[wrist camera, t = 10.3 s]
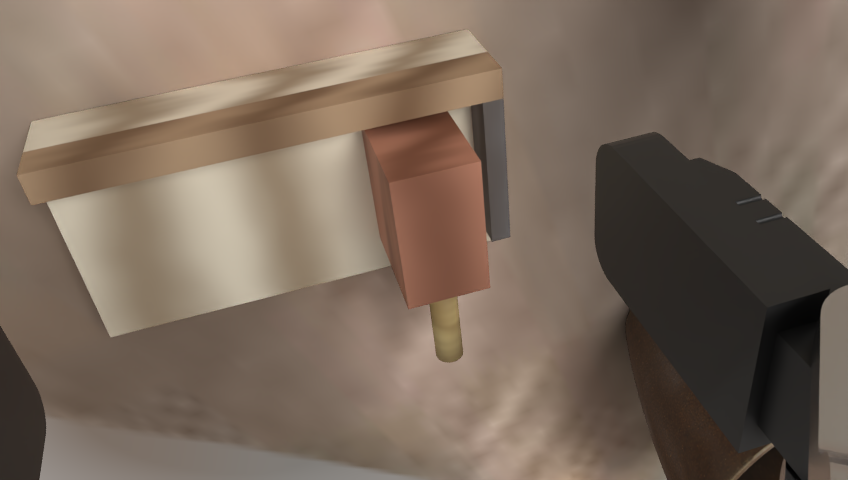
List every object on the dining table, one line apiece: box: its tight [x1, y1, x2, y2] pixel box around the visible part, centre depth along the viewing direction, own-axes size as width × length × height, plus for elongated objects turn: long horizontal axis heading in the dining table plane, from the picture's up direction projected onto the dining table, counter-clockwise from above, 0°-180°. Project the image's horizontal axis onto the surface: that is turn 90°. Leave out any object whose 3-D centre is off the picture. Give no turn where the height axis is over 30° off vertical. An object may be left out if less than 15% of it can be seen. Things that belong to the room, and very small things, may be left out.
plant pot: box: [626, 310, 784, 480], centre depth 50 cm, size 15×15×16 cm
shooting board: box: [17, 29, 510, 337], centre depth 39 cm, size 21×11×5 cm, turn 97°
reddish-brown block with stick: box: [362, 111, 490, 362], centre depth 39 cm, size 4×12×6 cm, turn 7°
